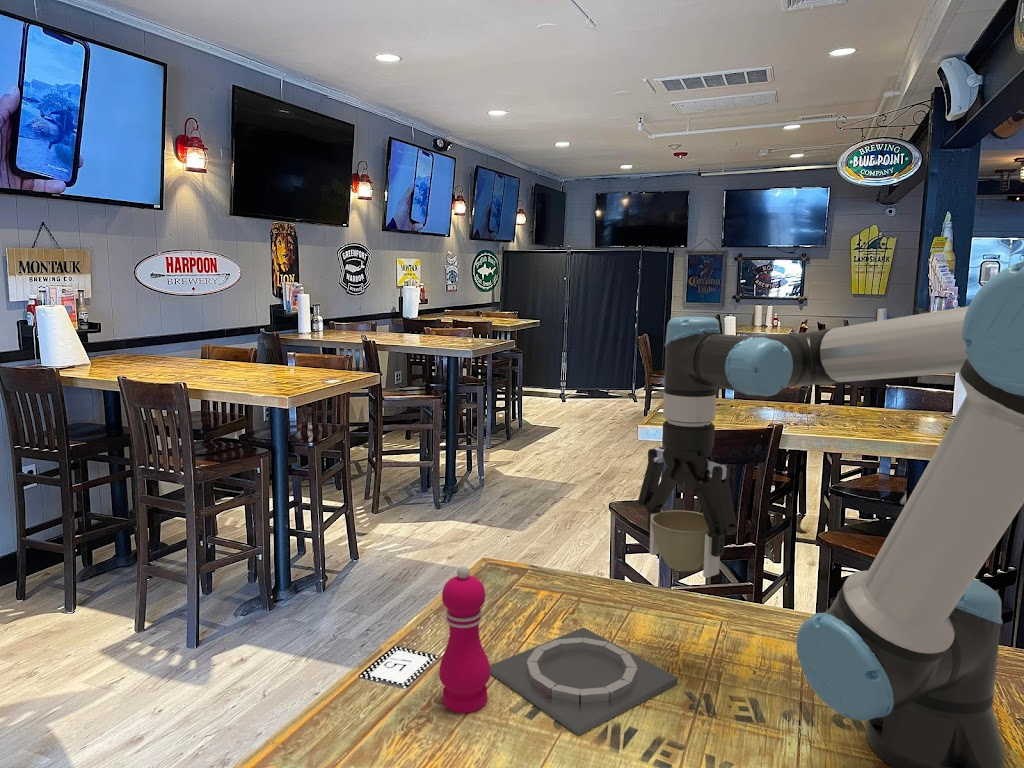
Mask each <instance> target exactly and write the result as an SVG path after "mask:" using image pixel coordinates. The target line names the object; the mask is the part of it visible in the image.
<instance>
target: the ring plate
mask: <svg viewBox="0 0 1024 768" xmlns="http://www.w3.org/2000/svg"><path fill="white" fill-rule="evenodd" d="M490 676H493V677H494V678H496V679H497V680H498V681H500V682H501V683H503V684H504V685H505V686H507V687H508V688H509V689H511V690H512V691H514V692H516V693H517V694H518V695H520V696H521V697H522V698H524V699H525V700H526V701H529V702H530V703H531V704H533V705H534V706H536V707H537V708H538V709H539V710H541V711H542V712H543V713H545V714H547V715H548V716H549V717H550V718H552V719H554V720H555V721H557V722H558V723H559V724H561V725H562V726H564V727H565V728H566V729H567V730H569V731H571V732H572V733H574V734H575V735H576V736H578V737H580V736H582V735H584V734H586V733H588V732H589V731H591V730H593V729H595V728H596V727H595V726H597V727H599V726H601V725H602V724H601V723H603V722H605V723H606V722H608V721H610V720H612V719H614V718H616V717H617V715H618V716H619V714H620V715H621V713H622V714H623V713H625V712H627V711H629V710H631V709H633V708H635V707H637V706H638V705H640V704H642V703H644V702H646V701H648V700H649V699H651V698H653V697H655V696H657V695H659V694H661V693H663V692H666V690H669V689H670V688H673V687H674V686H676V685H678V681H679V680H678V679H679V678H678V676H676V675H674V674H672V673H670V672H669V671H667V670H665V669H663V668H660V667H659V666H657V665H655V664H653V663H651V662H649V661H647V660H646V659H644V658H642V657H640V656H638V655H637V654H635V653H633V652H630V651H629V650H627V649H625V648H623V647H622V646H619V645H617V644H616V643H614V642H611V641H610V640H608V639H606V638H605V637H603V636H601V635H599V634H597V633H595V632H593V631H592V630H590V629H588V628H586V627H581V628H579V629H576V630H574V631H571V632H569V633H566V634H564V635H561V636H559V637H556V638H554V639H551V640H549V641H546V642H544V643H542V644H539V645H537V646H534V647H532V648H530V649H528V650H527V649H526V650H525V651H522V652H520V653H517V654H515V655H512V656H509V657H507V658H505V659H502V660H500V661H498V662H495V663H492V664H490ZM636 705H637V706H636ZM613 717H614V718H613ZM609 719H610V720H609ZM607 720H608V721H607ZM600 724H601V725H600ZM603 724H604V723H603ZM598 725H599V726H598ZM594 727H595V728H594ZM592 728H593V729H592ZM588 730H589V731H588ZM587 731H588V732H587ZM585 732H586V733H585ZM583 733H584V734H583Z"/></svg>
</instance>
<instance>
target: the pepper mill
mask: <svg viewBox="0 0 1024 768" xmlns="http://www.w3.org/2000/svg"><path fill="white" fill-rule="evenodd" d="M456 573H457V574H456V576H453V577H452V578H450V579H448V580H447V582H446V583H445V584H444V586H443V589H442V592H441V593H442V594H441V599H442V603H443V605H444V606H445V607H444V608H446V612H445V616H446V618H445V621H446V624H447V625H449V637H448V641H447V645H446V648H445V650H444V651H443V655H442V656H441V660H440V663H439V674H438V675H439V680H440V682H441V684H442V686H444V687H443V689H442V702H443V705H444V706H445V707H446V708H447V709H448V710H449V711H452V712H455V713H460V714H467V713H474V712H477V711H479V710H480V709H483V707H484V706H485V705H486V704H487V702H488V687H487V684H488V682H489V680H490V677H491V674H490V665H491V664H490V662H489V658H488V656H487V653H486V652H485V650H484V647H483V645H482V642H481V639H480V632H479V631H480V629H479V626H480V623H481V622H482V621H483V617H482V614H483V610H482V609H481V608H482V607H483V605H484V603H485V601H486V590H485V587H484V585H483V583H482V582H481V580H479V578H477V577H475V576H473V575H470V574H471V571H470V569H469V567H467V566H464V565H463V566H460V567H459V568H457V570H456Z"/></svg>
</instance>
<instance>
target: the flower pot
mask: <svg viewBox="0 0 1024 768" xmlns="http://www.w3.org/2000/svg"><path fill="white" fill-rule="evenodd" d="M651 520H652V529H653V534H654V538H655V541H656V544H657V547H658V549H659V552H660V553H659V554H660V556H661V557H662V559H663V562H664V564H666V566H667V567H668V568H670V569H673V570H675V571H678V572H679V571H681V572H693V571H694V572H695V571H697V570H699V569H700V568H701V566H702V565H704V547H705V534H707V533H710V531H709V528H708V526H707V523H706V520H705V518H704V515H703V512H696V511H691V510H679V509H678V510H674V509H673V510H665V511H664V512H661V511H660V512H659V513H657V514H655V515H653V516H652V518H651Z"/></svg>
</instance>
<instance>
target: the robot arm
mask: <svg viewBox="0 0 1024 768" xmlns="http://www.w3.org/2000/svg"><path fill="white" fill-rule="evenodd" d="M664 348H665V350H664V389H663V409H662V411H663V412H662V417H663V418H664V419H665V421H664V422H663V423H662V441H661V442H662V445H663V446H664V447H662V446H660V447H655V448H654V447H653V448H649V449H648V451H647V466H646V469H645V473H644V477H643V480H642V485H641V488H640V493H639V496H638V500H637V504H638V506H640V507H644V508H645V510H646V512H647V530H648V532H649V555H651V556H654V555H655V556H656V555H658V554H660V552H659V549H658V547H657V544H656V541H655V538H654V534H653V529H652V520H651V518H652V516H653V515H655V514H657V513H659V512H664V511H663V510H664V509H665V508H666V507H665V504H666V503H667V501H668V498H670V495H671V493H672V492H673V491H674V489H675V487H676V485H677V484H678V482H683V483H684V484H686V485H688V486H690V489H691V491H692V492H694V493H695V496H696V499H697V501H698V504H699V506H700V509H701V511H702V512H701V513H702V514H703V515H704V518H705V520H706V523H707V526H708V528H709V531H710V533H707V534H705V547H704V563H703V571H702V573H703V574H702V576H703V577H704V578H707V579H709V578H711V577H714V576H717V575H719V574H720V565H721V563H720V562H721V560H720V559H721V556H723V555H724V552H725V543H726V542H725V541H726V536H727V535H730V534H734V533H736V532H738V530H739V527H738V522H737V517H736V511H735V506H734V505H735V504H734V501H733V495H732V494H733V493H732V490H731V483H730V473H731V466H730V465H729V464H728V463H723V464H721V463H717V462H714V461H713V460H714V459H713V457H712V451H713V448H714V446H715V429H716V427H715V424H714V423H713V421H715V419H716V402H717V388H719V389H724V390H728V391H733V392H737V393H741V394H744V395H747V396H763V397H771V396H775V395H777V394H778V393H779V392H780V391H781V390H783V389H787V388H790V387H802V386H803V387H804V386H805V387H806V386H817V385H818V386H819V385H830V384H839V383H845V382H846V383H847V382H857V381H858V382H859V381H871V380H872V381H873V380H881V379H882V380H883V379H896V378H908V377H920V376H932V375H933V376H934V375H943V374H944V375H945V374H946V375H947V374H957V373H958V377H959V379H960V381H961V383H962V386H963V388H964V390H965V392H966V396H965V398H964V400H963V401H962V403H961V405H960V406H959V408H958V411H957V412H956V413H955V416H954V417H953V419H952V421H951V423H949V424H950V425H949V426H948V428H947V430H946V432H945V434H944V435H943V436H942V438H941V440H940V442H939V444H938V446H937V448H936V450H935V451H934V453H933V455H932V457H931V459H930V460H929V462H928V464H927V466H926V467H925V468H924V471H923V473H922V474H921V477H919V480H918V481H917V483H916V485H915V487H914V489H913V490H912V493H911V494H910V495H909V498H908V499H907V501H906V503H905V505H904V506H903V508H902V510H901V512H900V514H899V516H898V517H897V519H896V521H895V522H894V524H893V526H892V527H891V529H890V532H889V533H888V535H887V537H885V538H886V539H885V540H884V543H883V544H882V546H881V547H880V549H879V551H878V553H877V555H876V556H875V558H874V560H873V562H872V564H871V565H870V567H869V569H868V570H859V571H858V570H857V571H855V572H853V573H851V574H850V575H849V576H848V577H847V578H846V580H845V581H844V583H843V584H842V586H841V588H840V589H839V591H838V593H837V596H836V597H835V599H834V601H833V603H832V605H831V606H830V608H828V610H826V611H825V612H817V613H814V614H813V615H811V616H810V617H809V618H807V619H806V620H804V621H803V623H801V625H800V627H799V628H798V631H797V635H796V640H795V641H796V644H795V645H796V653H797V659H798V661H799V663H800V665H801V668H802V669H801V670H802V673H803V675H804V677H805V679H806V681H807V682H808V684H809V686H810V688H811V689H812V690H813V691H814V693H815V694H816V695H817V696H818V698H819V699H820V700H821V701H822V702H823V703H824V704H826V706H827V707H828V708H830V709H831V710H832V711H834V712H835V713H837V714H838V715H840V716H842V717H843V718H844V717H845V718H847V719H852V720H855V721H859V722H865V721H866V726H865V727H866V728H865V735H866V740H867V742H868V745H869V747H870V748H871V750H872V751H873V752H874V753H875V754H876V755H877V756H878V758H880V759H881V760H882V761H883V762H885V763H886V764H888V765H889V766H890V767H892V768H1005V760H1006V756H1005V755H1006V754H1005V749H1004V745H1003V742H1002V738H1001V734H1000V731H999V727H998V724H997V721H996V716H995V714H994V713H995V712H994V710H993V704H994V703H993V702H994V691H995V685H996V675H997V665H998V655H999V646H1000V637H1001V629H1002V628H1001V627H1002V625H1003V624H1004V623H1003V618H1002V599H1001V597H1000V595H999V594H998V593H997V591H995V590H994V589H993V588H992V587H990V586H989V585H987V583H984V582H981V581H979V580H978V579H975V578H976V577H977V575H978V573H979V571H980V570H981V569H982V567H983V566H984V564H985V562H986V561H987V559H988V558H989V556H990V555H991V553H992V551H994V549H995V547H996V546H997V545H998V543H999V541H1000V540H1001V538H1002V537H1003V535H1004V534H1005V532H1006V531H1007V529H1008V527H1009V526H1010V525H1011V523H1012V522H1013V520H1014V518H1015V517H1016V516H1017V514H1018V513H1019V511H1020V509H1021V508H1022V507H1023V504H1024V260H1022V261H1020V262H1017V263H1014V264H1012V265H1010V266H1008V267H1005V268H1004V269H1002V270H1001V271H999V272H998V273H996V274H994V275H993V276H992V277H991V278H990V279H988V280H987V281H986V282H985V283H984V284H983V285H982V286H981V287H980V289H979V290H978V291H976V294H975V295H974V296H973V298H971V301H970V303H969V305H968V306H963V307H957V308H956V307H955V308H954V307H953V308H951V309H950V308H948V309H944V310H937V311H932V312H931V311H930V312H925V313H919V314H914V315H913V314H911V315H906V316H900V317H894V318H887V319H882V320H876V321H870V322H864V323H858V324H853V325H846V326H840V327H839V326H838V327H834V328H826V329H821V330H819V329H818V330H812V331H806V332H805V331H804V332H796V333H779V334H760V335H757V334H756V335H737V334H723V333H721V330H720V321H719V319H717V318H715V317H709V316H676V317H672V318H671V319H669V320H668V322H667V325H666V335H665V343H664ZM665 464H666V467H665V469H664V466H665ZM663 469H664V471H663ZM701 482H702V483H701ZM661 510H662V511H661Z"/></svg>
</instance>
